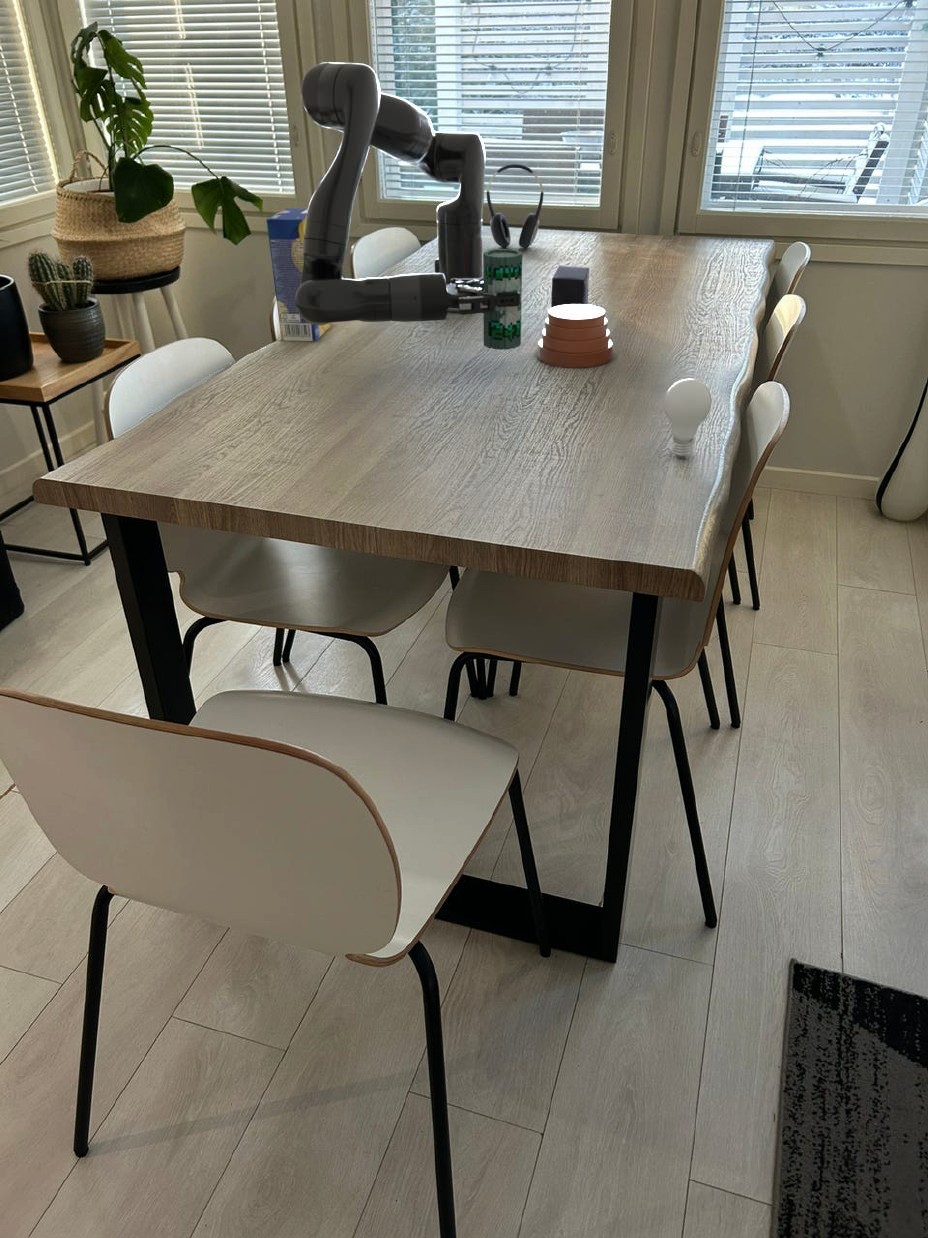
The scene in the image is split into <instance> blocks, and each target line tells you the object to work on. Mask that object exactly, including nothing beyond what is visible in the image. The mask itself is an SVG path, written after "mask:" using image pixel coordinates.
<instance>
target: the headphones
mask: <svg viewBox="0 0 928 1238" xmlns="http://www.w3.org/2000/svg"><path fill="white" fill-rule="evenodd" d="M509 169H521V170H523V171H526V172H528V173H529V174H531V175H533V176H534V177H535V178H536V180H537V182H538V184H539V186H540V196H539V201H538V205H537V208H536V210H535V213H532V212H531V213H528V215H527V216H526V218H525V220H524V222H523V225H522V229H521V231H520V234H519V239H518V245H519V247H520V248H523V249H526V248H529V247H530V246H532V245H533V243H534V241H535V239H536V236H537V233H538V230H539V226H540V220H539V217H540V214H541V210H542V206H543V202H544V193H545V192H544V187H543V183H542V181H541V180H540V178H539V176H538V175H537V174H536V173H535V172H534V170H533V169H531V168H530V167H528V166H526V165H524V164H521V163H509V164H506V165H504V166H501V167H500V168H499V169H497V170H496V172H495V173H494V174H493V175H492V176H491V178H490V180H489V181H488V184H487V187H486V201H487V207H488V210H489V215H490V218H491V220H489V221H490V222H489V224H490V225H489V226H490V231H491V236H492V238H493V240H494V243H495V244H496V245H497V246H499V247H501V248H506V247H507V248H508V246H510V244H511V233H510V232H511V231H510V228H509V224H508V222H507V219H506V217H505V215H504V214H503V213H501V212H496V213H495V210H494V207H493V204H492V201H491V200H492V199H491V193H490V186H491V184H492V181H493V180H494V179H495V178H496V176H497V175H498V174H500V173H501V172H504V171H506V170H509Z"/></svg>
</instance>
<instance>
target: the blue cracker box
mask: <svg viewBox="0 0 928 1238" xmlns="http://www.w3.org/2000/svg"><path fill="white" fill-rule="evenodd" d="M307 212H308V208H284V209H283V210H281V211H278V212H277V213H275V214H274V215H271V216H270V217H268V218H266V226H267V234H268V245H269V251H270V260H271V267H272V268H271V269H272V276H273V283H274V292H275V300H276V306H277V308H276V309H277V316H278V324H279V331H280V340H281V341H295V342H296V341H298V342H316V341H317V340H319V338H320V337H322V335H324V334H325V332H326V331H328V330H329V328H331V327H332V323H328V324H325V325H321V326H317V325H313V324H310V323H308V322H307V321H305V320H304V319H303V318H302V317H301V316H300V314H299V313H298V311H297V309H296V305H295V295H296V292H297V290H298V288H299V287H300V282H301V275H302V269H303V262H304V257H303V242H304V233H305V226H306V218H307Z"/></svg>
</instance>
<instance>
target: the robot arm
mask: <svg viewBox="0 0 928 1238" xmlns="http://www.w3.org/2000/svg"><path fill="white" fill-rule="evenodd" d="M300 95H301V100H302V104H303V107H304V109H305V111H306V113H307V114H308V116H309V118H310V119H311V120H312V121H313V122H314V123H316V124H317V125H318V126H320V127H321V128H327V129H331V130H335V131H339V132H342V133H343V135H342V139H341V143H340V146H339V150H338V151H337V154H336V157H335V158H334V160H333V162H332V164H331V166H330V167H329V169H328V171H327V173H326V174H325V175H324V177H323V179H322V180H321V181H320V183H319V185H317V187H316V189H315V191H314V193H313V195H312V197H311V199H310V202H309V204H308V208H307V209H308V212H307V218H306V226H305V233H304V242H303V257H304V262H303V269H302V275H301V282H300V287H299V288H298V290H297V292H296V295H295V305H296V309H297V311H298V313H299V314H300V316H301V317H302V318H303V319H304V320H305V321H307V322H308V323H310V324H313V325H317V326H321V325H325V324H328V323H331V324H332V323H343V322H344V323H345V322H353V321H357V322H362V323H363V322H364V323H381V322H382V323H384V322H385V323H386V322H401V323H413V322H415V323H416V322H433V321H435V322H436V321H445V320H446V319H447V316H448V312H452V313H453V312H454V313H458V315H461V316H464V315H472V314H475V315H476V314H483V313H489V312H490V313H492V312H495V309H497V307H510V306H519V305H520V294H519V292H517V291H516V292H497V293H496V292H486V291H485V290H484V289H483V253H484V251H483V250H484V249H483V248H484V247H483V244H484V242H483V211H484V202H485V180H486V179H485V178H486V175H485V174H486V149H485V148H486V147H485V144H484V140H483V138H482V136H480V134H479V133H477V132H476V133H475V132H468V131H467V132H466V131H465V132H464V131H438V130H437V131H436V130H434V127H433V124H432V121H431V119H430V117H429V116H428V115H427V113H426V112H425V111H424V110H423V109H421V108H420V107H418V106H417V105H415V104H414V103H412V102H410V101H409V100H406V99H404V98H401V97H399V96H397V95H392V94H388V93H384V92H381V87H380V81H379V79H378V76H377V74H376V72H375V70H374V69H373V68H372V67H371V66H369V65H367V64H366V63H365V64H364V63H360V62H359V63H358V62H357V63H356V62H354V63H353V62H336V61H335V62H333V61H332V62H331V61H328V62H327V61H325V62H320V63H316V64H315V65H313V66H311V67H310V68H309V69H308V70H307V71H306V73H305V74H304V76H303V79H302V82H301V87H300ZM370 146H371V147H373V148H374V149H377V150H379V151H381V152H382V153H383V154H385V155H387V156H389V157H391V158H393V159H396V160H398V161H401V162H403V163H405V164H408V165H411V166H414V167H415V168H417V169H419V171H421V172H422V173H423V174H424V175H426V176H427V177H428V178H430V179H431V180H433V181H435V182H437V183H441V184H449V185H450V184H451V185H459V192H458V195H457V196H456V197H455V198H453V199H451V200H449V201H445V202H443V203H440V204H439V205H438V206H437V207H436V234H437V258H436V259H434V272H430V273H429V272H428V273H408V274H407V273H406V274H404V273H403V274H398V275H392V276H379V277H377V276H376V277H364V278H356V279H354V278H343V267H344V263H345V259H346V254H347V249H348V243H349V235H350V230H351V229H350V227H351V220H352V219H351V218H352V213H353V208H354V204H355V198H356V194H357V192H358V187H359V184H360V180H361V178H362V174H363V171H364V168H365V165H366V160H367V157H368V153H369V150H370ZM485 300H487V304H486V303H485Z"/></svg>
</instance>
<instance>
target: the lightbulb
mask: <svg viewBox="0 0 928 1238" xmlns="http://www.w3.org/2000/svg"><path fill="white" fill-rule="evenodd" d="M663 398H664V399H663V409H664V413H665V415H666V417H667V419H668V421H669V423H670V424H671V431H672V435H673V443H672V444H673V445H672V453H673V454H674V455H675V456H677V457H678V458H686V457H689V456H691V455H692V454H693V446H694V440H695V436H696V435H697V434H698V433H697V432H698V429H699V427H700V426H701V424H702V423H703V421H705V420H706V418H707V417H708V415H709V413H710V411H711V408H712V405H713V404H712V403H713V400H712V395H711V392H710V389H709V388H708V386H706V384H705V383H703V382H702V381H700V380H698V379H695V378H683V379H680V380H678V381H676V382H674V383H672V385H671V386H670V387H668V389H667V390H666V393H665V394H664V397H663Z"/></svg>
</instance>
